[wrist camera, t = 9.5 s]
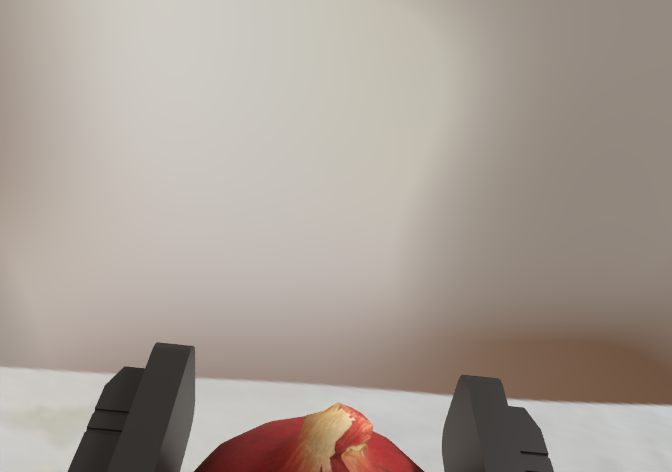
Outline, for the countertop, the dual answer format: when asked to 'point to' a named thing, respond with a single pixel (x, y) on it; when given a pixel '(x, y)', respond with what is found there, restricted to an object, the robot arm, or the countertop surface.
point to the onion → (311, 447)
